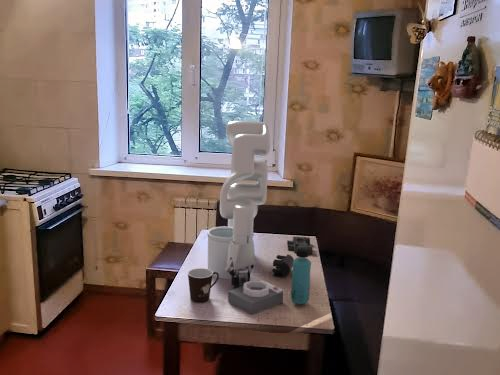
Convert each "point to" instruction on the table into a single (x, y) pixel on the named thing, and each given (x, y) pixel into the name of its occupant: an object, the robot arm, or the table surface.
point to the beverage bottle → (301, 277)
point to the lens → (242, 277)
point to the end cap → (282, 265)
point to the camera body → (255, 296)
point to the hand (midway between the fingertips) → (240, 283)
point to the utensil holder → (219, 250)
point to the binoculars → (300, 244)
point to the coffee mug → (200, 284)
